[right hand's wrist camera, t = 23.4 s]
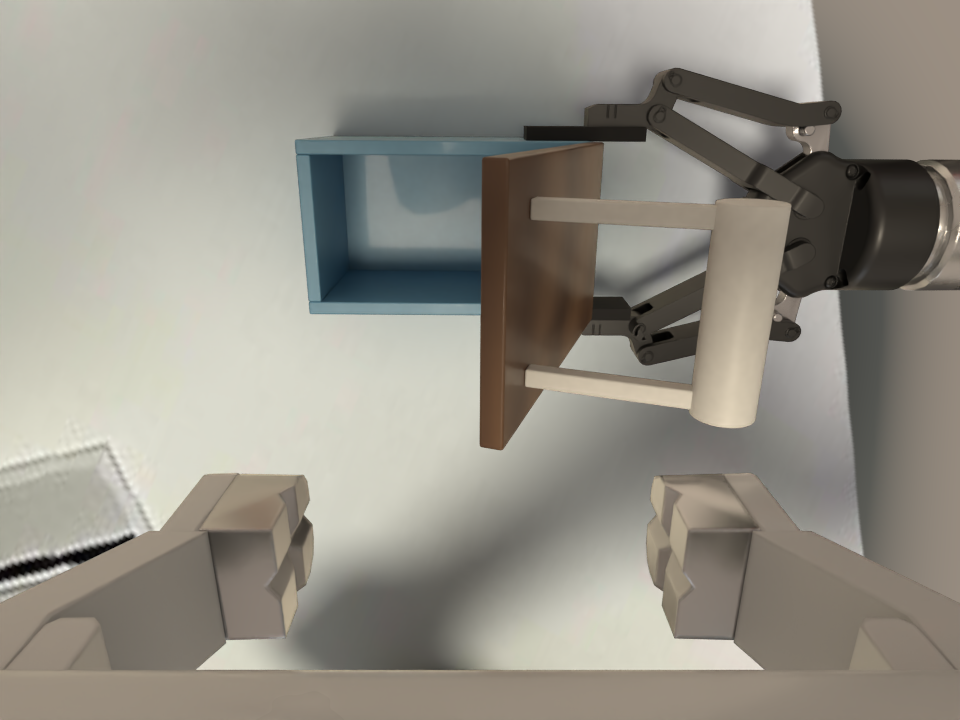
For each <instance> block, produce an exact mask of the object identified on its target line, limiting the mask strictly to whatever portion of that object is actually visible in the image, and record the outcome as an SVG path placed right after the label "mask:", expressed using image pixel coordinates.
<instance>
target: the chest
mask: <svg viewBox="0 0 960 720" xmlns="http://www.w3.org/2000/svg"><path fill="white" fill-rule="evenodd" d="M587 142H590V141H526V140H524V137H402V136H328V137H318V138H308V139H298V140H295V149H296V154H298V155H296V161H297V172H298V184H299V195H300V207H301V218H302V230H303V241H304V253H305V265H306V276H307V288H308V299H309V301H310V302H309V310H310V314H378V315H481V206H482V158H483V157H487V156H494V155H501V154H509V153H516V152H523V151H530V150H537V149H544V148H551V147H558V146H565V145H572V144H580V143H587Z"/></svg>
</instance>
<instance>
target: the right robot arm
mask: <svg viewBox="0 0 960 720" xmlns="http://www.w3.org/2000/svg"><path fill="white" fill-rule="evenodd" d="M309 501H310V497H309V489H308V482H307V480H306V478H305V476H304V475H280V474H239V473H223V474H207V475H204V476H203V477H202V478H201V479H200V481H199V482H198V483H197V484H196V486H195V487H194V488H193V489H192V491H191V492H190V493H189V494H188V496H187V497H186V498H185V499H184V501H183V502H182V503H181V505H180V506H179V507H178V508H177V510H176V511H175V512H174V513H173V515H172V516H171V517H170V518H169V520H168V521H167V522H166V523H165V525H164V526H163V527H162V528H161V530H160V531H148V532H146V533H144V534H142V535H140V536H138V537H136V538H134V539H132V540H130V541H128V542H126V543H123V544H121V545H119V546H117V547H115V548H113V549H111V550H109V551H107V552H105V553H103V554H101V555H99V556H97V557H94V558H92V559H90V560H88V561H86V562H84V563H82V564H80V565H78V566H76V567H74V568H72V569H70V570H67V571H65V572H63V573H61V574H59V575H57V576H55V577H53V578H51V579H49V580H47V581H45V582H43V583H41V584H38V585H36V586H34V587H32V588H30V589H28V590H26V591H24V592H22V593H20V594H18V595H16V596H14V597H12V598H9V599H7V600H5V601H3V602H1V603H0V720H960V603H958V602H956V601H954V600H952V599H950V598H948V597H946V596H944V595H942V594H940V593H938V592H936V591H933V590H931V589H929V588H927V587H925V586H923V585H921V584H919V583H917V582H915V581H913V580H911V579H909V578H907V577H905V576H902V575H900V574H898V573H896V572H894V571H892V570H890V569H888V568H886V567H884V566H882V565H880V564H878V563H876V562H874V561H871V560H869V559H867V558H865V557H863V556H861V555H859V554H857V553H855V552H853V551H851V550H849V549H847V548H845V547H843V546H841V545H839V544H836V543H834V542H832V541H830V540H828V539H826V538H824V537H822V536H820V535H818V534H816V533H814V532H812V531H800V530H799V529H798V527H797V526H796V525H795V524H794V522H793V521H792V520H791V519H790V517H789V516H788V515H787V513H786V512H785V511H784V510H783V508H782V507H781V506H780V505H779V503H778V502H777V501H776V500H775V498H774V497H773V496H772V495H771V493H770V492H769V491H768V490H767V488H766V487H765V486H764V485H763V483H762V482H761V481H760V480H759V478H758V477H757V476H756V475H754V474H751V473H737V474H695V475H659V476H654V480H653V483H652V487H651V496H650V501H651V503H652V506H653V508H654V510H655V513H656V516H655V517H654V518H653V519H652V520H651V521H650V522H649V523H648V524H647V538H646V550H647V562H648V567H649V572H650V575H651V578H652V581H653V584H654V585H655V586H656V587H658V588H659V589H660V590H662V591H663V598H662V608H663V610H664V613H665V615H666V618H667V620H668V623H669V626H670V628H671V631H672V633H673V636H674V638H681V639H717V640H734V643H735V644H736V645H737V646H738V647H739V648H740V649H742V650H743V651H744V652H745V653H746V654H747V655H748V656H750V657H751V658H752V659H753V660H754V661H755V662H756V663H758V664H759V665H760V666H761V667H762V668H763V669H764V670H196V669H197V668H198V667H199V666H200V665H202V664H203V663H204V662H205V661H206V660H207V659H208V658H210V657H211V656H212V655H213V654H214V653H215V652H216V651H218V650H219V649H220V648H221V647H222V646H223V645H224V644H226V640H242V639H277V638H286V636H287V633H288V631H289V628H290V626H291V623H292V620H293V618H294V615H295V613H296V610H297V607H298V599H297V591H298V590H300V589H301V588H302V587H304V586H305V585H306V583H307V581H308V578H309V575H310V572H311V566H312V560H313V554H314V536H313V525H312V523H311V522H310V521H309V520H308V519H307V518H306V517H305V516H304V512H305V510H306V508H307V506H308V503H309Z"/></svg>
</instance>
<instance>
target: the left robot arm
mask: <svg viewBox="0 0 960 720" xmlns="http://www.w3.org/2000/svg"><path fill="white" fill-rule="evenodd" d="M676 99H680V100H683V101H687V102H690V103H694V104H697V105H700V106H704V107H707V108H711V109H714V110H718V111H721V112H724V113H728V114H731V115H735V116H738V117H742V118H745V119H748V120H752V121H755V122H759V123H762V124H766V125H770V126H780V127H786V135H787V137H788V138H789V139H790V140H792V141H797V142H799V143H800V144H801V145H802V147H803V153H801V154H799V155H798V156H796V157H795V158H793V159H792V160H790V161H789V162H787V163H786V164H784V165H783V166H781V167H780V168H778V169H777V170H775V171H774V170H772V169H771V168H769V167H767V166H765V165H763V164H760V163H758V162H757V161H755V160H753V159H752V158H750V157H748V156H747V155H745V154H743V153H742V152H740V151H739V150H737V149H735V148H734V147H732V146H730V145H729V144H727V143H726V142H724V141H722V140H721V139H719V138H717V137H716V136H714V135H713V134H711V133H709V132H708V131H706V130H704V129H703V128H701V127H700V126H698V125H696V124H695V123H693V122H691V121H690V120H688V119H686V118H685V117H683V116H682V115H680V114H678V113H677V112H675V111H673V110H672V109H673V106H674V104H675V102H676ZM841 112H842V111H841V106H840V104H839V103H838V102H836V101H818V102H805V103H795V102H792V101H789V100H785V99H782V98H778V97H775V96H772V95H768V94H765V93H762V92H758V91H755V90H751V89H748V88H745V87H741V86H738V85H735V84H731V83H728V82H724V81H721V80H718V79H714V78H711V77H707V76H704V75H701V74H697V73H694V72H691V71H687V70H684V69H680V68H673V69H669V70H666V71H662V72H660V73H658V74H657V75H656V76H655V78H654V81H653V87H652V89H651V92H650V94H649V96H648V98H647V99H646V100H645V101H644V102H643V103H641V104H595V105H592V106H590V107H587V108H585V113H584V126H524V140H526V141H617V142H646V132H647V129H649V130H650V131H652V132H654V133H655V134H657V135H658V136H660V137H662V138H663V139H665V140H667V141H668V142H670V143H672V144H673V145H675V146H677V147H678V148H680V149H682V150H683V151H685V152H687V153H688V154H690V155H692V156H693V157H695V158H697V159H698V160H700V161H702V162H703V163H705V164H706V165H708V166H710V167H711V168H713V169H715V170H716V171H718V172H720V173H721V174H723V175H725V176H726V177H728V178H730V179H731V180H732V181H733V182H735V183H736V184H738V185H739V186H741V187H743V188H744V189H746V190H748V191H749V192H748V194H747V196H746V197H743V198H748V199H766V200H776V201H783V202H787V203H790V204H791V212H790V218H789V224H788V230H787V235H786V241H785V247H784V253H783V259H782V265H781V271H780V277H779V283H778V289H777V290H779V291H780V292H779V295H778V296H777V298H776V301H775V306H774V312H773V318H772V324H771V330H770V336H769V340H774V341H785V342H792V341H794V340H796V339H797V338H798V337H799V336H800V334H801V328H800V326H799V325H798V324H796V323H795V320H796V316H797V312H798V309H799V305H800V302H801V298H803V297H806V296H808V295H810V294H812V293H814V292H817V291H821V290H894V289H897V288H901V289H903V290H960V160H920V161H918V162H915V161H912V160H872V159H841V158H838V157H836V156H835V155H834V154H832V153H830V152H828V149H829V137H830V126H831V124H833V123H835V122H836V121H837V120H838V119H839V117H840V115H841ZM705 278H706V271H705V272H703V273H701V274H699V275H696V276H694V277H692V278H690V279H688V280H686V281H684V282H682V283H680V284H678V285H676V286H674V287H672V288H670V289H668V290H666V291H664V292H662V293H660V294H658V295H656V296H654V297H652V298H650V299H648V300H646V301H644V302H642V303H640V304H638V305H636V306H634V307H632V308H630V306H629V305H628V304H627V302H626V301H625V300H624V299H623V297H593V308H592V319H591V321H590V322H589V324H588V325H587V326H586V328H585V329H584V331H583V332H582V335H622V336H626V337H628V338H629V341H630V347H631V349H632V351H633V352H634V354H635V355H636V357H637V358H638V360H639V362H640V363H641V364H643V365H653V364H657V363H662V362H666V361H670V360H675V359H679V358H683V357H687V356H692V355H696V348H697V340H698V333H699V325H700V321H696V322H692V323H688V324H683V325H679V326H675V327H671V328H667V329H662V328H664V327H666V326H668V325H670V324H672V323H674V322H676V321H678V320H680V319H682V318H684V317H686V316H688V315H690V314H693V313H695V312H697V311H699V310H701V309H702V302H703V294H704V286H705ZM659 329H662V330H659ZM657 330H658V331H657Z"/></svg>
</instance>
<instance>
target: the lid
mask: <svg viewBox="0 0 960 720" xmlns="http://www.w3.org/2000/svg"><path fill="white" fill-rule="evenodd" d="M603 149H604V143H602V142H587V143H580V144H572V145H565V146H558V147H551V148H544V149H537V150H530V151H523V152H516V153H509V154H501V155H494V156H487V157H483V158H482V206H481V338H480V446H481V447H484V448H490V449H496V450H503V449H504V447H505V446H506V444H507V443H508V441H509V440H510V438H511V437H512V436H513V434H514V433H515V431H516V430H517V428H518V427H519V425H520V424H521V422H522V421H523V419H524V418H525V416H526V415H527V413H528V412H529V410H530V409H531V408H532V406H533V405H534V403H535V402H536V400H537V399H538V397H539V396H540V394H541V393H542V391H543V390H544V389H545V390H553V391H560V392H567V393H574V394H581V395H589V396H596V397H603V398H610V399H617V400H625V401H632V402H639V403H646V404H653V405H661V406H668V407H675V408H682V409H689V413H690V414H691V416H692V417H694V418H695V419H697V420H698V421H700V422H703V423H705V424H708V425H712V426H716V427H722V428H743V427H747V426H750V425H751V424H753V423H754V422H755V419H756V413H757V407H758V401H759V395H760V389H761V383H762V377H763V371H764V366H765V360H766V354H767V348H768V342H769V336H770V330H771V324H772V318H773V312H774V306H775V301H776V295H777V289H778V283H779V277H780V271H781V265H782V259H783V253H784V247H785V241H786V235H787V230H788V224H789V218H790V212H791V204H790V203H787V202H783V201H776V200H766V199H748V198H730V199H720V200H717V201H716V202H715V204H692V203H669V202H647V201H624V200H602V199H600V193H601V178H602V164H603ZM598 224H613V225H631V226H649V227H667V228H685V229H703V230H712V232H711V240H710V247H709V255H708V263H707V271H706V278H705V286H704V294H703V302H702V309H701V317H700V325H699V333H698V340H697V348H696V356H695V364H694V371H693V379H692V385H691V384H683V383H675V382H668V381H660V380H652V379H644V378H636V377H628V376H620V375H613V374H605V373H597V372H589V371H581V370H573V369H565V368H559V366H560V365H561V363H562V362H563V360H564V359H565V357H566V356H567V354H568V353H569V352H570V350H571V349H572V347H573V346H574V344H575V343H576V341H577V340H578V338H579V337H580V335H581V334H582V332H583V331H584V329H585V328H586V326H587V325H588V324H589V322H590V321H591V319H592V308H593V294H594V279H595V265H596V251H597V236H598Z"/></svg>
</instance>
